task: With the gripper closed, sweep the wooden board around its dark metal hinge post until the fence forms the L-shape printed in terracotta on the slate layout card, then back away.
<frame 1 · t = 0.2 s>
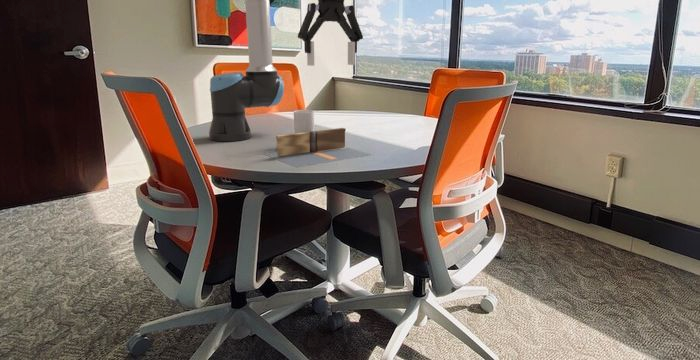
hand: (331, 65, 133), 27 cm above the table, tool pointing down, fingers open, 13 cm apart
layout card: (317, 155, 143), on the table
mug: (304, 146, 158), on the table
wooden board: (293, 144, 141), point 4 cm above the table, hinge at 0.0°
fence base: (312, 151, 146), resting on layout card
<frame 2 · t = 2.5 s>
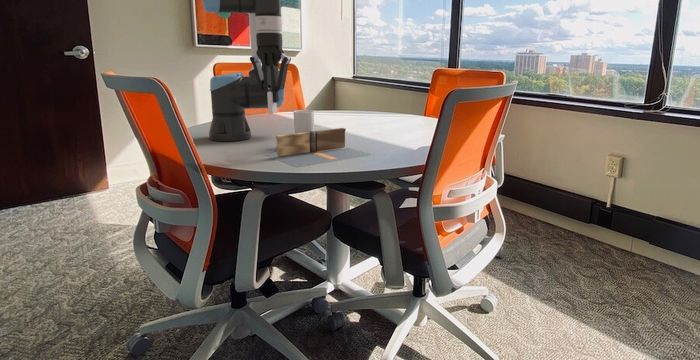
hand: (272, 113, 141), 13 cm above the table, tool pointing down, fingers closed
nothing on the table moved.
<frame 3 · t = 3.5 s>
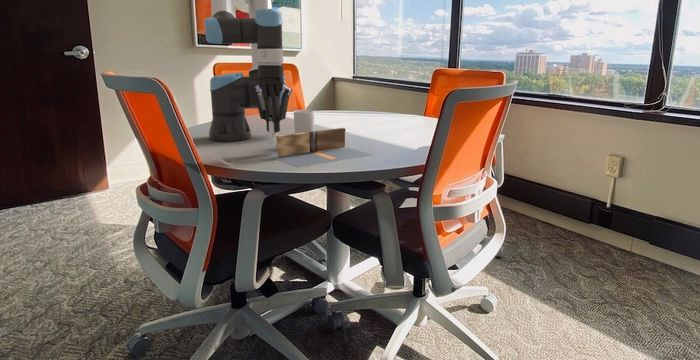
hand: (273, 142, 143), 4 cm above the table, tool pointing down, fingers closed
nothing on the table moved.
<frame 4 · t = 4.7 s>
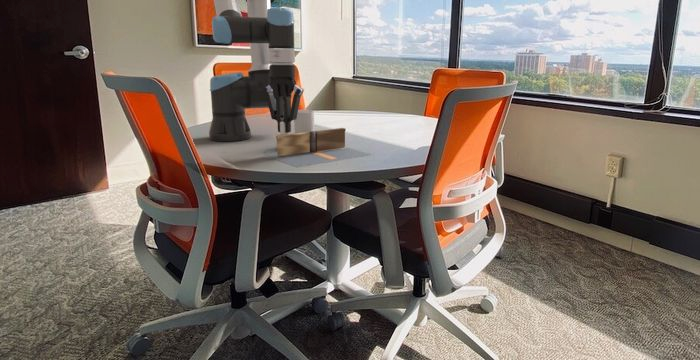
hand: (284, 142, 142), 4 cm above the table, tool pointing down, fingers closed
wooden board: (293, 144, 141), point 4 cm above the table, hinge at 0.0°, touching gripper
everything else where it was.
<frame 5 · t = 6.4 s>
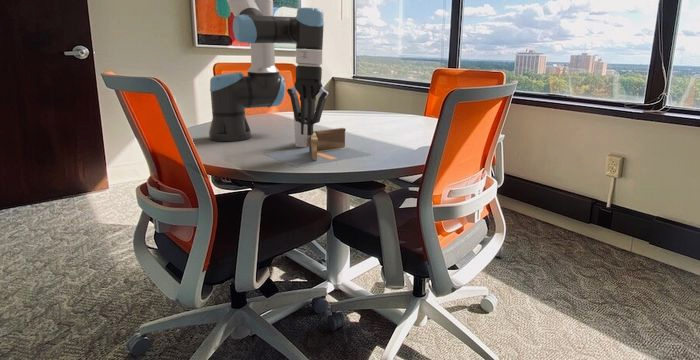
hand: (306, 145, 138), 4 cm above the table, tool pointing down, fingers closed
wooden board: (313, 145, 139), point 4 cm above the table, hinge at 61.6°, touching gripper
everything else where it was.
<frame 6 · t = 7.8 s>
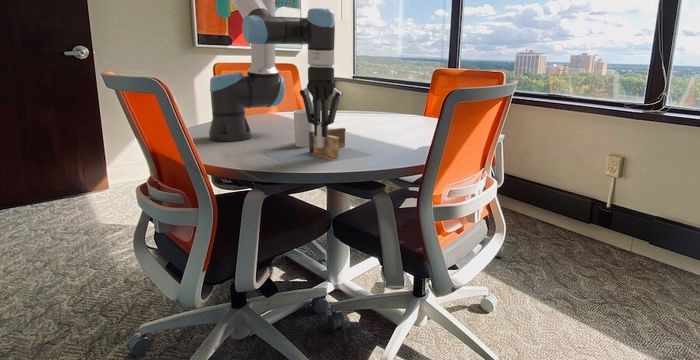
hand: (320, 147, 138), 4 cm above the table, tool pointing down, fingers closed
wooden board: (325, 144, 140), point 4 cm above the table, hinge at 94.3°, touching gripper
everything else where it was.
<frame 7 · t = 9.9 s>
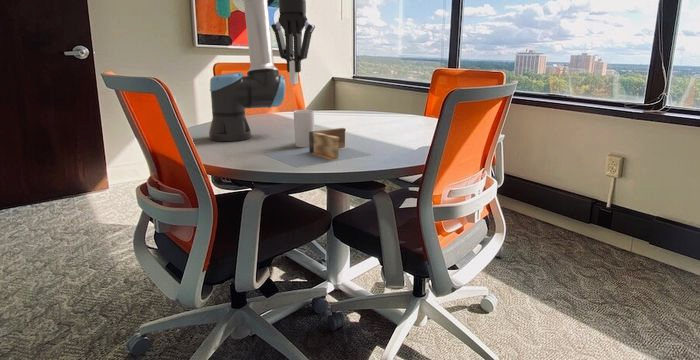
hand: (294, 83, 136), 22 cm above the table, tool pointing down, fingers closed
wooden board: (325, 144, 140), point 4 cm above the table, hinge at 94.5°
everything else where it was.
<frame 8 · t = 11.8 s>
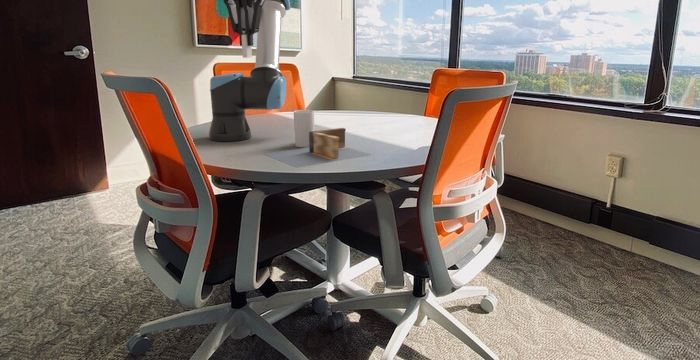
hand: (247, 57, 139), 29 cm above the table, tool pointing down, fingers closed
nothing on the table moved.
at the end: wooden board at +94° (first picture: +0°) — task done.
